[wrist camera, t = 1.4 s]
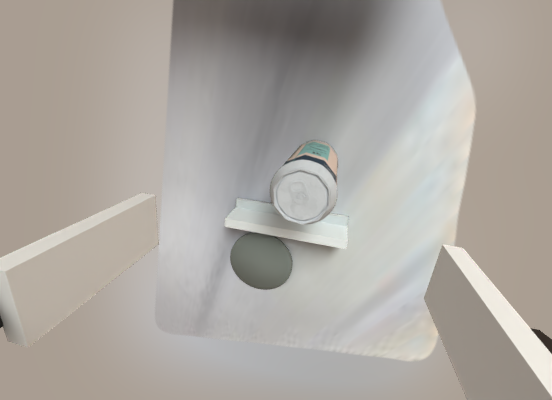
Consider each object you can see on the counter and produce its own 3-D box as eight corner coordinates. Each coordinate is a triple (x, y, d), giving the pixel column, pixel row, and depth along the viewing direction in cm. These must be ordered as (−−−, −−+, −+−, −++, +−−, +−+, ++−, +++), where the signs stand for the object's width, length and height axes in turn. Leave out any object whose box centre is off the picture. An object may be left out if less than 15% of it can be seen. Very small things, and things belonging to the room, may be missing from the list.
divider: (237, 197, 33) (225, 209, 29) (348, 216, 31) (349, 231, 27) (236, 220, 34) (224, 234, 30) (343, 239, 32) (344, 257, 28)
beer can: (301, 189, 31) (280, 237, 20) (287, 148, 30) (256, 176, 19) (344, 175, 30) (346, 219, 19) (330, 132, 28) (324, 152, 17)
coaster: (232, 227, 35) (231, 228, 34) (295, 238, 33) (295, 240, 33) (230, 280, 37) (229, 282, 37) (288, 293, 36) (288, 295, 36)
